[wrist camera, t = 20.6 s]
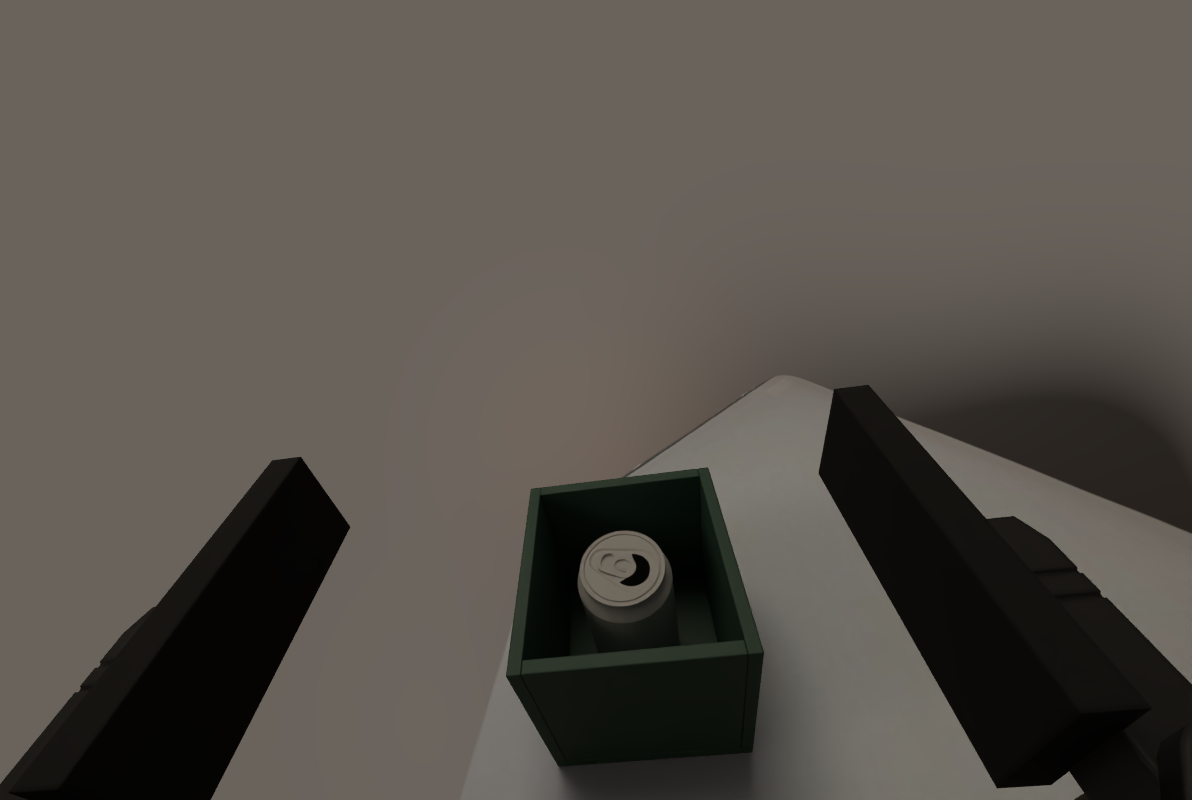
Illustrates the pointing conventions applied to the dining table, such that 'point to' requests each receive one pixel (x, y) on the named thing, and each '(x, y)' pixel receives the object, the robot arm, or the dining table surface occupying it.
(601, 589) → the beverage can
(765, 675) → the dining table surface
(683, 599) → the waste bin
